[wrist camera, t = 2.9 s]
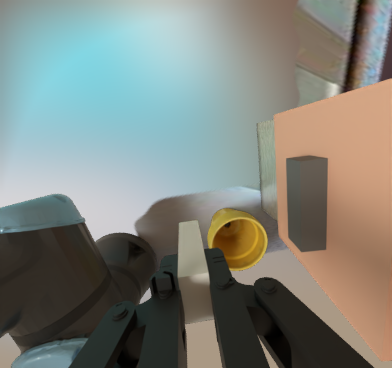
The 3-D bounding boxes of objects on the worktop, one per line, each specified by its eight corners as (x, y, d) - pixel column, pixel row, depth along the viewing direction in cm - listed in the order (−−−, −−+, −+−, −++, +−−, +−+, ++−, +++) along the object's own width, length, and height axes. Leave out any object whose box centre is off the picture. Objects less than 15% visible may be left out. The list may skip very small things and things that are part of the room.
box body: (261, 208, 44) (288, 230, 33) (256, 123, 40) (284, 117, 29) (340, 196, 45) (391, 214, 34) (343, 112, 41) (401, 102, 30)
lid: (286, 234, 33) (263, 237, 33) (282, 113, 29) (257, 117, 29) (398, 359, 14) (347, 364, 14) (434, 69, 10) (361, 79, 10)
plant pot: (257, 230, 45) (277, 255, 35) (216, 251, 45) (225, 281, 36) (237, 191, 43) (254, 206, 33) (194, 213, 43) (198, 234, 33)
